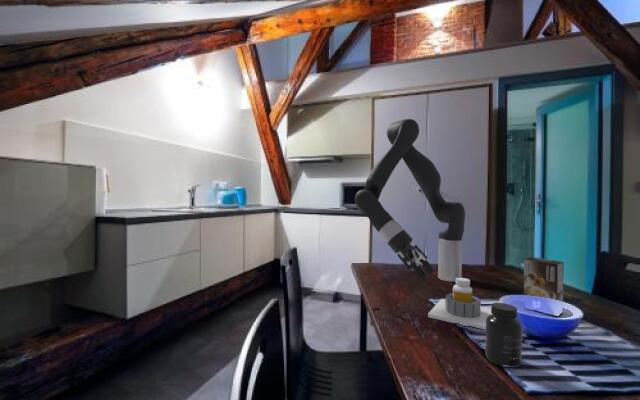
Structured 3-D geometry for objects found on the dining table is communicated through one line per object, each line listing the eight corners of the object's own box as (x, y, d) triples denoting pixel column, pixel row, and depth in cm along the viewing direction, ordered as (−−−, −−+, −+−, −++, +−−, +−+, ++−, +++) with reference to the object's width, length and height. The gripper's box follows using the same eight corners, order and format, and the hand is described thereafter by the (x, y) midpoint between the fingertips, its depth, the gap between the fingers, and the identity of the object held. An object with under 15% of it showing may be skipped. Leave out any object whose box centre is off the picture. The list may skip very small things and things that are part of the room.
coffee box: (564, 313, 93) (565, 261, 93) (557, 318, 89) (559, 264, 89) (529, 304, 100) (530, 256, 100) (522, 308, 97) (523, 258, 96)
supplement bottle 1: (474, 315, 88) (475, 282, 88) (454, 313, 89) (455, 281, 89) (469, 308, 93) (470, 277, 93) (450, 307, 94) (451, 276, 94)
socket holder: (441, 301, 102) (441, 286, 102) (495, 312, 93) (495, 296, 93) (427, 316, 89) (428, 300, 89) (489, 331, 80) (489, 313, 80)
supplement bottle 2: (478, 352, 69) (479, 300, 69) (506, 351, 70) (507, 300, 70) (498, 369, 62) (499, 312, 62) (529, 368, 63) (530, 311, 63)
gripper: (395, 231, 96) (431, 272, 89) (409, 227, 107) (443, 263, 101) (379, 245, 99) (413, 286, 92) (395, 240, 110) (426, 276, 104)
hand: (428, 274), depth 97 cm, fingers open, 8 cm apart
